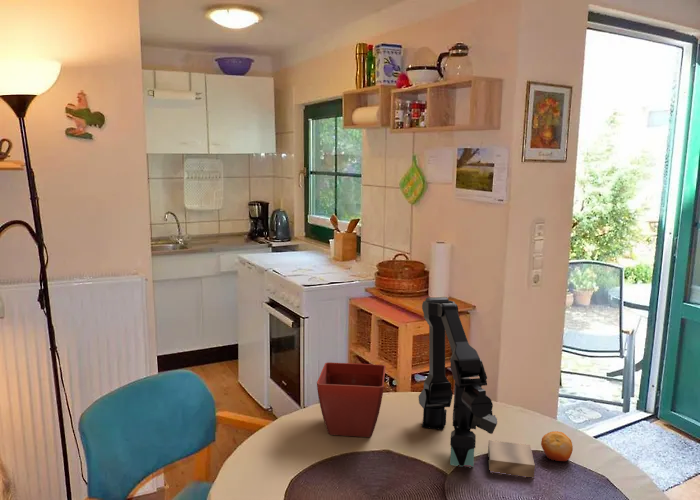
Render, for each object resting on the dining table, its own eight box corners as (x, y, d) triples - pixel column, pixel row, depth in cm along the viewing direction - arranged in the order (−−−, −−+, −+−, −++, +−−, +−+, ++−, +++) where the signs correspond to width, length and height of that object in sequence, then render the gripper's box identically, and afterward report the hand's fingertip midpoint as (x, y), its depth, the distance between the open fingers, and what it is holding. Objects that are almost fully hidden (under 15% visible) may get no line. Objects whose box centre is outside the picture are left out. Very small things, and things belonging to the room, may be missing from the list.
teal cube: (450, 465, 148) (451, 443, 147) (451, 454, 154) (452, 433, 153) (473, 468, 147) (474, 446, 146) (473, 456, 152) (474, 436, 152)
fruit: (571, 445, 157) (573, 428, 152) (571, 471, 151) (573, 454, 146) (540, 440, 159) (542, 424, 154) (539, 465, 153) (541, 449, 149)
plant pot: (324, 411, 179) (325, 361, 177) (384, 415, 177) (385, 364, 175) (315, 439, 160) (316, 383, 158) (381, 444, 158) (383, 387, 156)
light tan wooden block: (489, 474, 144) (490, 459, 144) (487, 453, 155) (488, 440, 154) (533, 479, 142) (534, 465, 142) (529, 458, 153) (530, 444, 152)
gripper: (497, 419, 137) (494, 479, 139) (495, 391, 155) (491, 444, 157) (451, 414, 140) (448, 473, 142) (454, 387, 158) (451, 439, 160)
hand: (462, 456), depth 150 cm, fingers open, 9 cm apart
